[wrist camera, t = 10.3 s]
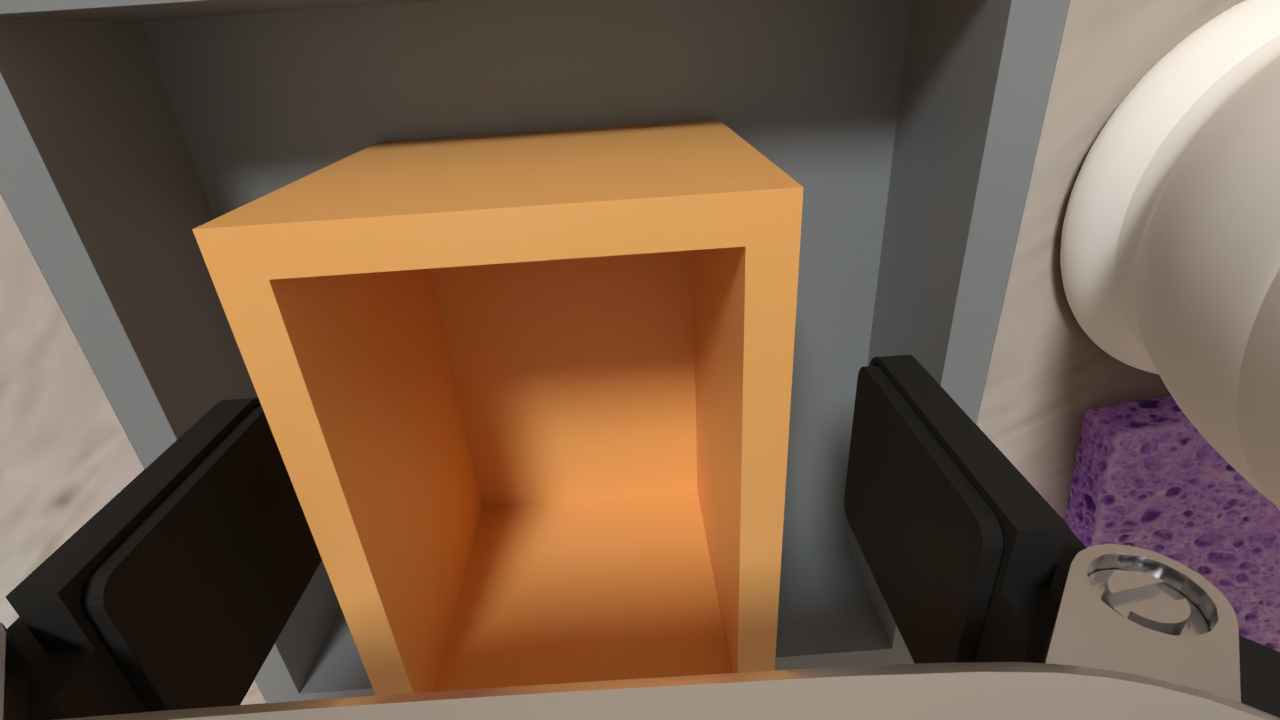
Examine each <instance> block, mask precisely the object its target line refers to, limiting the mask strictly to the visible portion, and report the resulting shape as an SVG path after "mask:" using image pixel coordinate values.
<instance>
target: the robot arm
mask: <svg viewBox="0 0 1280 720" xmlns="http://www.w3.org/2000/svg"><path fill="white" fill-rule="evenodd" d="M844 508H845V514H846V518H847V520H848V523H849V525H850V527H851V529H852V531H853V534H854V536H855V538H856V540H857V542H858V544H859V546H860V548H861V551H862V553H863V555H864V557H865V559H866V561H867V563H868V565H869V568H870V570H871V572H872V574H873V576H874V578H875V580H876V583H877V585H878V587H879V589H880V591H881V593H882V595H883V597H884V600H885V602H886V604H887V606H888V608H889V610H890V612H891V614H892V617H893V619H894V621H895V623H896V625H897V627H898V629H899V632H900V634H901V636H902V638H903V640H904V642H905V644H906V646H907V649H908V651H909V653H910V655H911V657H912V659H913V661H914V663H915V664H897V665H875V666H853V667H830V668H809V669H792V670H776V671H759V672H742V673H725V674H708V675H692V676H675V677H658V678H641V679H625V680H608V681H592V682H577V683H561V684H546V685H530V686H515V687H499V688H484V689H469V690H454V691H439V692H424V693H409V694H393V695H378V696H363V697H349V698H335V699H321V700H307V701H293V702H279V703H265V704H251V705H240V704H241V702H242V701H243V699H244V697H245V695H246V693H247V692H248V690H249V688H250V686H251V685H252V683H253V681H254V679H255V678H256V676H257V674H258V672H259V671H260V669H261V667H262V665H263V663H264V662H265V660H266V658H267V656H268V655H269V653H270V651H271V649H272V648H273V646H274V644H275V642H276V640H277V639H278V637H279V635H280V633H281V632H282V630H283V628H284V626H285V625H286V623H287V621H288V619H289V618H290V616H291V614H292V612H293V610H294V609H295V607H296V605H297V603H298V602H299V600H300V598H301V596H302V595H303V593H304V591H305V589H306V588H307V586H308V584H309V582H310V580H311V579H312V577H313V575H314V573H315V572H316V570H317V568H318V566H319V565H320V563H321V561H322V558H321V556H320V553H319V550H318V548H317V545H316V543H315V540H314V538H313V535H312V533H311V530H310V528H309V525H308V523H307V520H306V517H305V515H304V512H303V510H302V507H301V505H300V502H299V500H298V497H297V495H296V492H295V489H294V487H293V484H292V482H291V479H290V477H289V474H288V472H287V469H286V467H285V464H284V462H283V459H282V456H281V454H280V451H279V449H278V446H277V444H276V441H275V439H274V436H273V434H272V431H271V429H270V426H269V423H268V421H267V418H266V416H265V413H264V411H263V408H262V406H261V403H260V401H259V398H246V399H231V400H222V401H220V402H218V403H217V404H216V405H215V406H214V407H212V408H211V409H210V410H209V411H208V412H207V413H206V414H205V415H204V416H203V417H202V418H200V419H199V420H198V421H197V422H196V423H195V424H194V425H193V426H192V427H191V428H190V429H188V430H187V431H186V432H185V433H184V434H183V435H182V436H181V437H180V438H179V439H177V440H176V441H175V442H174V443H173V444H172V445H171V446H170V447H169V448H168V449H167V450H165V451H164V452H163V453H162V454H161V455H160V456H159V457H158V458H157V459H156V460H155V461H153V462H152V463H151V464H150V465H149V466H148V467H147V468H146V469H145V470H144V471H143V472H141V473H140V474H139V475H138V476H137V477H136V478H135V479H134V480H133V481H132V482H131V483H129V484H128V485H127V486H126V487H125V488H124V489H123V490H122V491H121V492H120V493H118V494H117V495H116V496H115V497H114V498H113V499H112V500H111V501H110V502H109V503H108V504H106V505H105V506H104V507H103V508H102V509H101V510H100V511H99V512H98V513H97V514H96V515H94V516H93V517H92V518H91V519H90V520H89V521H88V522H87V523H86V524H85V525H84V526H82V527H81V528H80V529H79V530H78V531H77V532H76V533H75V534H74V535H73V536H72V537H70V538H69V539H68V540H67V541H66V542H65V543H64V544H63V545H62V546H61V547H59V548H58V549H57V550H56V551H55V552H54V553H53V554H52V555H51V556H50V557H49V558H47V559H46V560H45V561H44V562H43V563H42V564H41V565H40V566H39V567H38V568H37V569H35V570H34V571H33V572H32V573H31V574H30V575H29V576H28V577H27V578H26V579H25V580H23V581H22V582H21V583H20V584H19V585H18V586H17V587H16V588H15V589H14V590H12V591H11V592H10V593H9V594H8V595H7V596H6V598H7V600H8V601H9V602H10V604H11V605H12V607H13V608H14V609H15V611H16V612H17V613H18V615H19V616H20V617H19V618H18V619H17V620H16V621H15V622H14V623H13V624H12V625H11V626H10V627H9V628H8V629H6V628H5V626H4V625H3V624H2V623H1V622H0V720H1280V652H1278V651H1276V650H1274V649H1271V648H1269V647H1266V646H1264V645H1262V644H1259V643H1257V642H1254V641H1252V640H1250V639H1247V638H1245V637H1242V636H1240V635H1239V627H1238V621H1237V618H1236V615H1235V612H1234V608H1233V607H1232V606H1231V604H1230V603H1229V602H1228V600H1227V599H1226V598H1225V596H1224V595H1223V594H1222V593H1221V591H1220V590H1218V589H1217V588H1216V587H1215V586H1214V585H1212V584H1211V583H1210V582H1209V581H1208V580H1206V579H1205V578H1204V577H1203V576H1202V575H1200V574H1198V573H1197V572H1195V571H1193V570H1192V569H1190V568H1188V567H1187V566H1185V565H1183V564H1181V563H1180V562H1178V561H1175V560H1173V559H1171V558H1168V557H1166V556H1163V555H1161V554H1159V553H1156V552H1153V551H1149V550H1146V549H1142V548H1138V547H1134V546H1130V545H1118V544H1102V545H1095V546H1090V547H1088V548H1087V547H1086V546H1085V545H1084V544H1083V543H1082V542H1081V541H1080V540H1079V539H1078V538H1077V536H1076V535H1075V534H1074V533H1073V532H1072V531H1071V530H1070V529H1069V528H1070V527H1069V526H1068V525H1067V523H1066V522H1065V521H1064V520H1063V519H1062V518H1061V517H1060V516H1059V515H1058V514H1057V513H1056V511H1055V510H1054V509H1053V508H1052V507H1051V506H1050V505H1049V504H1048V503H1047V502H1046V501H1045V499H1044V498H1043V497H1042V496H1041V495H1040V494H1039V493H1038V492H1037V491H1036V490H1035V488H1034V487H1033V486H1032V485H1031V484H1030V483H1029V482H1028V481H1027V480H1026V479H1025V478H1024V476H1023V475H1022V474H1021V473H1020V472H1019V471H1018V470H1017V469H1016V468H1015V467H1014V466H1013V464H1012V463H1011V462H1010V461H1009V460H1008V459H1007V458H1006V457H1005V456H1004V455H1003V454H1002V452H1001V451H1000V450H999V449H998V448H997V447H996V446H995V445H994V444H993V443H992V442H991V440H990V439H989V438H988V437H987V436H986V435H985V434H984V433H983V432H982V431H981V429H980V428H979V427H978V426H977V425H976V424H975V423H974V422H973V421H972V420H971V419H970V417H969V416H968V415H967V414H966V413H965V412H964V411H963V410H962V409H961V408H960V407H959V405H958V404H957V403H956V402H955V401H954V400H953V399H952V398H951V397H950V396H949V395H948V393H947V392H946V391H945V390H944V389H943V388H942V387H941V386H940V385H939V384H938V383H937V381H936V380H935V379H934V378H933V377H932V376H931V375H930V374H929V373H928V372H927V371H926V369H925V368H924V367H923V366H922V365H921V364H920V363H919V362H918V361H917V360H916V358H915V357H913V356H912V355H896V356H881V357H874V358H873V359H871V362H870V364H869V366H864V367H861V368H860V370H859V373H858V379H857V388H856V397H855V406H854V415H853V424H852V432H851V441H850V450H849V459H848V468H847V477H846V485H845V494H844Z"/></svg>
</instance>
